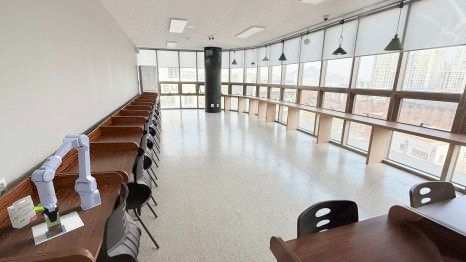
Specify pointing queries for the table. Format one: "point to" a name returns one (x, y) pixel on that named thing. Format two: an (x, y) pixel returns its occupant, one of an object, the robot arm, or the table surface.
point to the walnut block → (55, 229)
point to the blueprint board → (67, 223)
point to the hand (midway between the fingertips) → (52, 218)
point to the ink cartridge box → (22, 212)
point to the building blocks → (39, 208)
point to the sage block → (53, 222)
